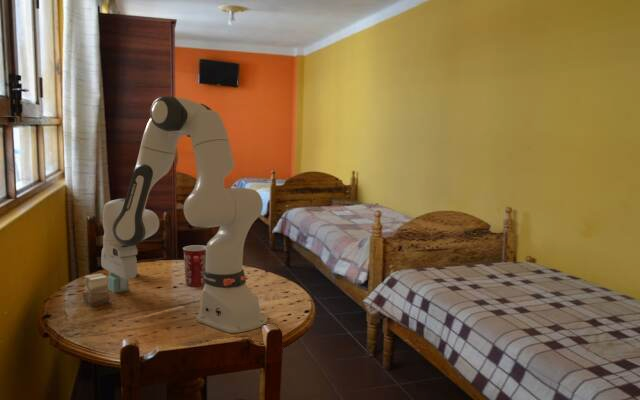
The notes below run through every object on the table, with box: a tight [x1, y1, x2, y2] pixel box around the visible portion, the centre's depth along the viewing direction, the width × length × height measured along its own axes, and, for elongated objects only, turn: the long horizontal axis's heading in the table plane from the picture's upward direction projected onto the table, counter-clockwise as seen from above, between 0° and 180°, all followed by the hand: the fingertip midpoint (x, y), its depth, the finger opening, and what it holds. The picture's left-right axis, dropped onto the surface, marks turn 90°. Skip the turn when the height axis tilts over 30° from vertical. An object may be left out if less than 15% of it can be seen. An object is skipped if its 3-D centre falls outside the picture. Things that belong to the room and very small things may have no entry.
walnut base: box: [82, 290, 111, 306], centre depth 160 cm, size 6×6×3 cm
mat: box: [80, 299, 112, 307], centre depth 160 cm, size 12×10×1 cm
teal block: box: [107, 275, 130, 294], centre depth 171 cm, size 5×5×5 cm
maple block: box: [84, 272, 108, 295], centre depth 159 cm, size 5×5×5 cm
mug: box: [182, 244, 207, 287], centre depth 180 cm, size 13×9×14 cm
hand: (118, 285), depth 171 cm, fingers closed on teal block, 5 cm apart
